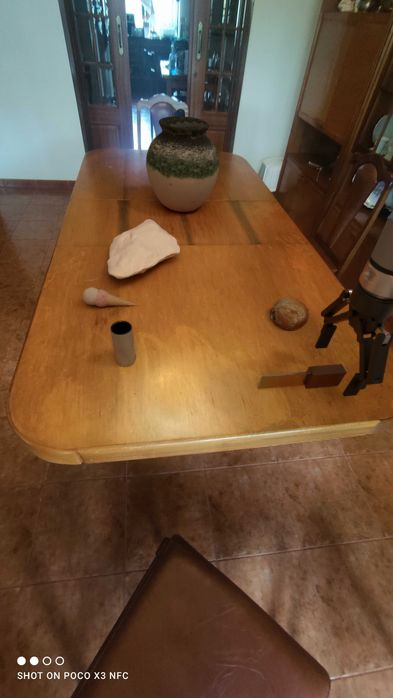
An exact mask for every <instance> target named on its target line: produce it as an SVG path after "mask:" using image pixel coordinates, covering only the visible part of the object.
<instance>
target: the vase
mask: <svg viewBox="0 0 393 698" xmlns="http://www.w3.org/2000/svg"><path fill="white" fill-rule="evenodd" d="M158 125H159V127H160V129H161V132H160V133H159V134H157V135H155V137H154V138H153V139H152V141H151V142H150V144H149V146H148V149H147V152H146V157H145V169H146V173H147V177H148V181H149V184H150V186H151V189H152V190H153V193H154V194H155V196H156V198H157V200H158V201H159V202H160V203H161V204H162V205H163V206H164V207H165V208H167V209H169V210H171V211H175V212H181V213H187V212H192V211H194V210H197V209H198V208H200V207H201V206H202V205H203V204H205V203H206V201H207V200H208V198H209V197H210V195H211V193H212V192H213V190H214V187H215V185H216V183H217V180H218V176H219V172H220V158H219V153H218V150H217V148H216V146H215V144H214V142H213V141H212V140H211V138H209V137H208V136H207V135H206V134H207V132H208V130H209V128H210V123H209V122H208V121H206V120H204V119H201V118H196V117H192V116H182V115H181V116H180V115H178V116H177V115H176V116H174V115H173V116H165V117H162V118H160V119H159V120H158Z"/></svg>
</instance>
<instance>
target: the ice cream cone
mask: <svg viewBox="0 0 393 698" xmlns="http://www.w3.org/2000/svg"><path fill="white" fill-rule="evenodd" d="M82 299H83V301H84V302H85V304H87V305H90V306H96V307H99V308H104V307H106V306H121V307H127V306H130V307H131V306H132V307H133V306H134V307H136V306H137V307H139V304H136V303H133V302H131V301H129V300H126V299H124V298H121V297H118V296H117V295H114V294H111V293H109V292H108V291H106V290H105V289H103V288H101V289H100V288H96V287H87V288H85V289H84V291H83V292H82Z"/></svg>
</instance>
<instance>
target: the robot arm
mask: <svg viewBox="0 0 393 698" xmlns="http://www.w3.org/2000/svg"><path fill="white" fill-rule="evenodd" d="M361 271H362V272H361V273H360V275H359V278H358V281H357V282H356V283H355V285H354V286H353V288H351V289H343V290H342V291H341V292H340V294H339V296H338V297H337V298H336V299H334V301H332V302H331V303H330V304H329V305H327V306H326V307H325V308H324V309H322V310H321V312H320V316H321V317H323V320H322V321H323V325H322V327H321V329H320V332H319V333H320V334H319V336H318V339H316V340H317V341H316V343H315V345H314V348H315V350H318V349H319V350H320V349H327V348H328V346H329V344H330V343H331V341H332V339H333V337H334V334H335V332H336V331H337V329H338V326H337V324H339V323H343V322H346V321H348V326H350V327H351V328H352V330H353V332H354V333H355V334H356V342H357V343H358V359H359V360H358V361H359V362H358V364H359V366H358V367H359V369H358V370H359V371H358V372H355V373H354V375H353V377H352V378H351V380H350V381H349V383H348V384H347V386H346V387H345V389H344V391H342V394H341V395H342V396H343V397H345V398H346V397H354V396H356V397H357V395H358V394H359V392H360V391H361V390H365V389H366V387H368V386H371V385H381V384H383V382H384V377H385V373H386V368H387V362H388V358H389V352H390V346H391V344H392V343H393V331H387V330H385V328H384V323H385V321H386V320H387V319H388V318H389V317H390V316H392V314H393V210H391V212H390V214H389V215H388V216H387V218H386V222H385V224H384V225H383V228H382V231H381V233H380V235H379V237H378V239H377V241H376V244H375V246H374V248H373V250H372V252H371V253H370V255H369V257H368V259H367V261H366V263H365V266H364V267H363V269H362V270H361ZM347 306H348V310H347V311H344V312H340V311H341V310H343V309H344V308H345V307H347ZM339 312H340V313H339ZM337 313H339V314H337ZM368 335H370V337H369V336H368ZM365 336H367V337H365Z"/></svg>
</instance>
